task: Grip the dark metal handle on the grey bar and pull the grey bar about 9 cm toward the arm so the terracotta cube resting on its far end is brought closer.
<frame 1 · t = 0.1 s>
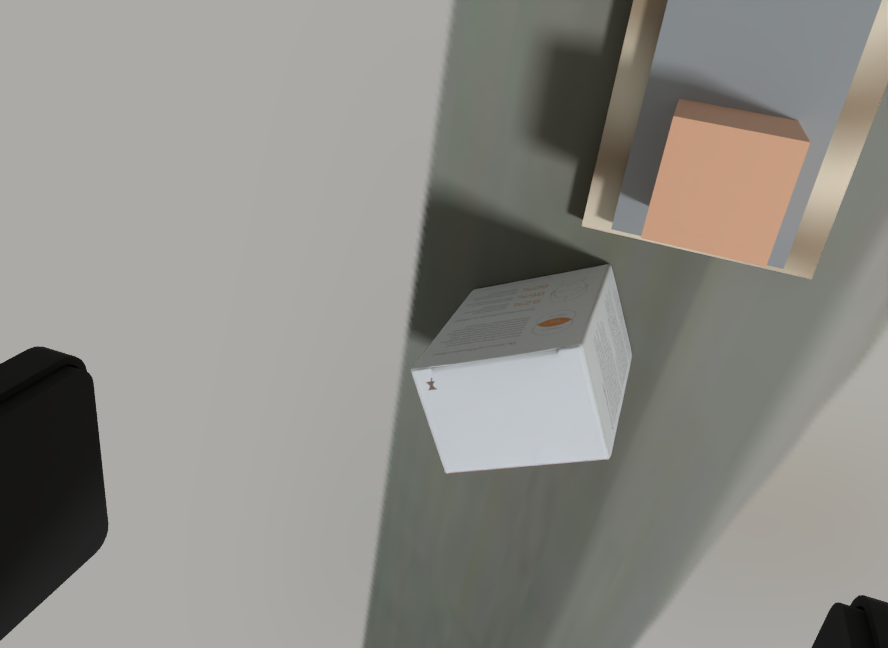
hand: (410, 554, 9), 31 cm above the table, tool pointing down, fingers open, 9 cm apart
small box: (553, 319, 42), on the table
cube: (720, 165, 34), point 2 cm above the table, touching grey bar
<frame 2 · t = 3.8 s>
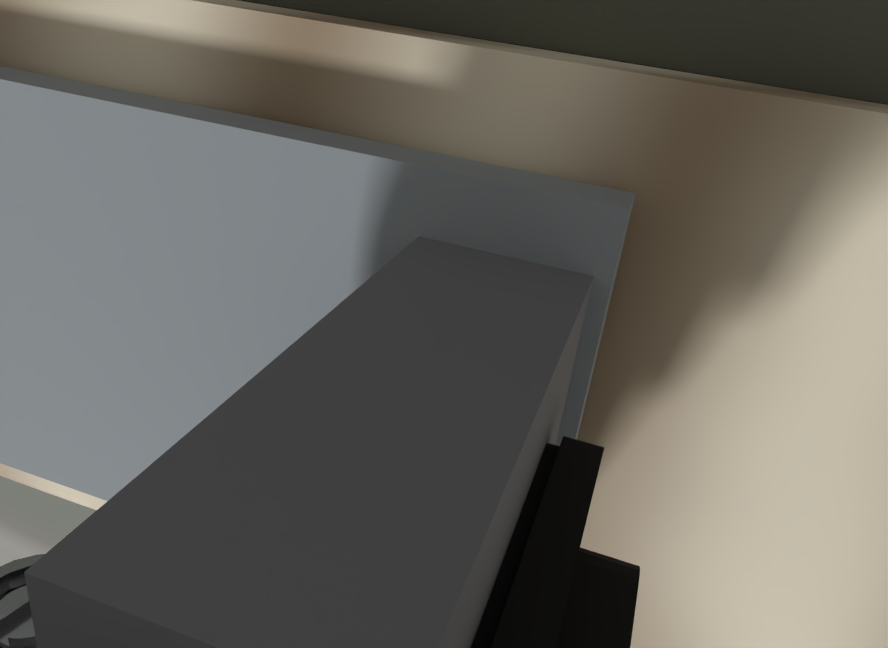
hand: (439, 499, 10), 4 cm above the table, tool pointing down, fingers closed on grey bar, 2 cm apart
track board: (279, 316, 14), on the table
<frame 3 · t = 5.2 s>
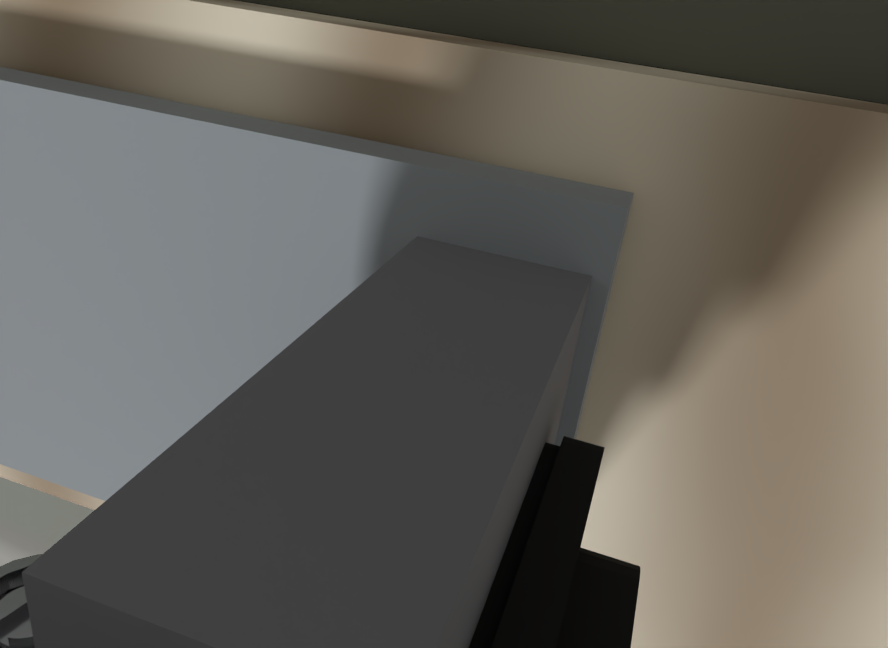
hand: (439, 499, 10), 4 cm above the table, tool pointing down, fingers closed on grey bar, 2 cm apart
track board: (90, 266, 15), on the table
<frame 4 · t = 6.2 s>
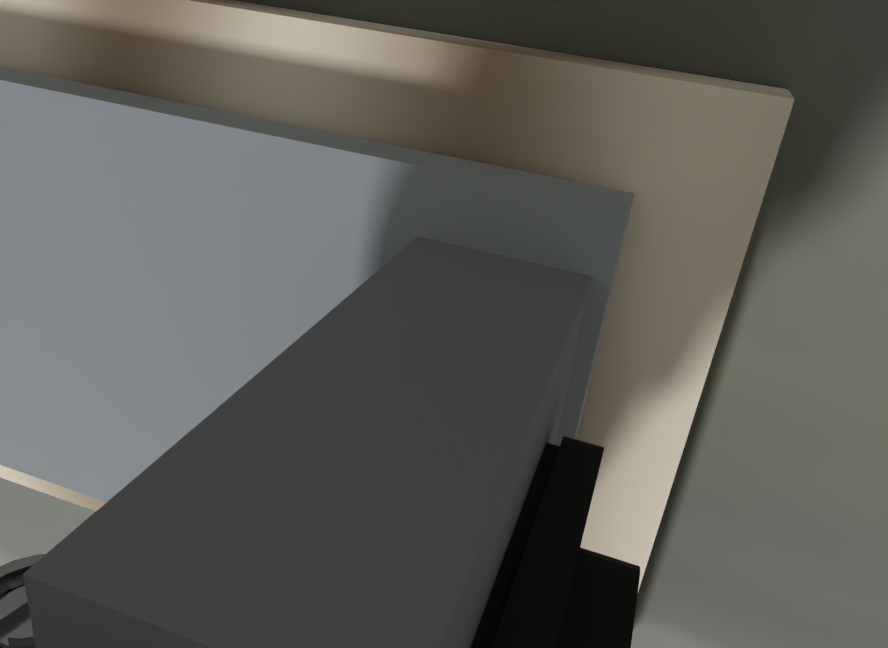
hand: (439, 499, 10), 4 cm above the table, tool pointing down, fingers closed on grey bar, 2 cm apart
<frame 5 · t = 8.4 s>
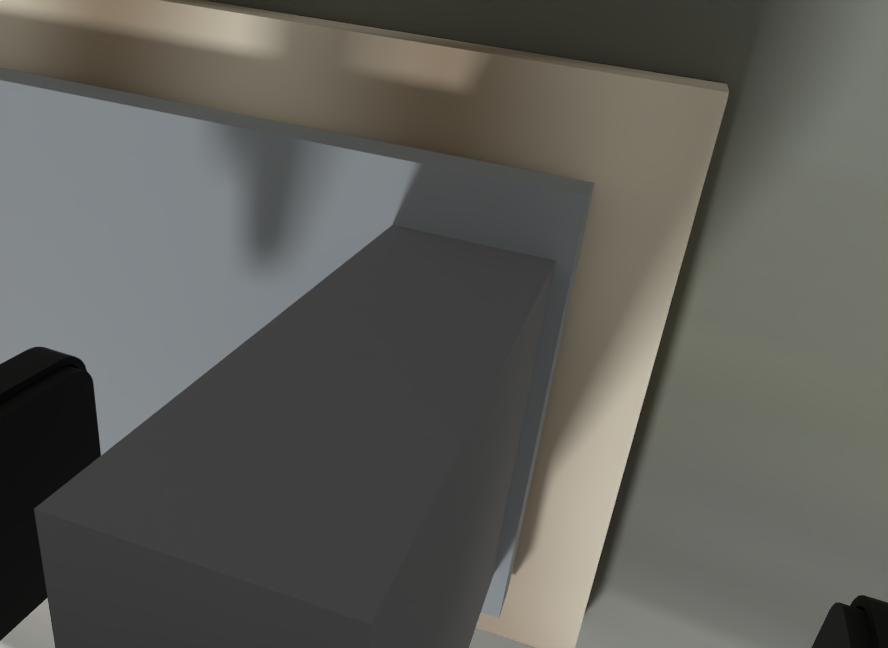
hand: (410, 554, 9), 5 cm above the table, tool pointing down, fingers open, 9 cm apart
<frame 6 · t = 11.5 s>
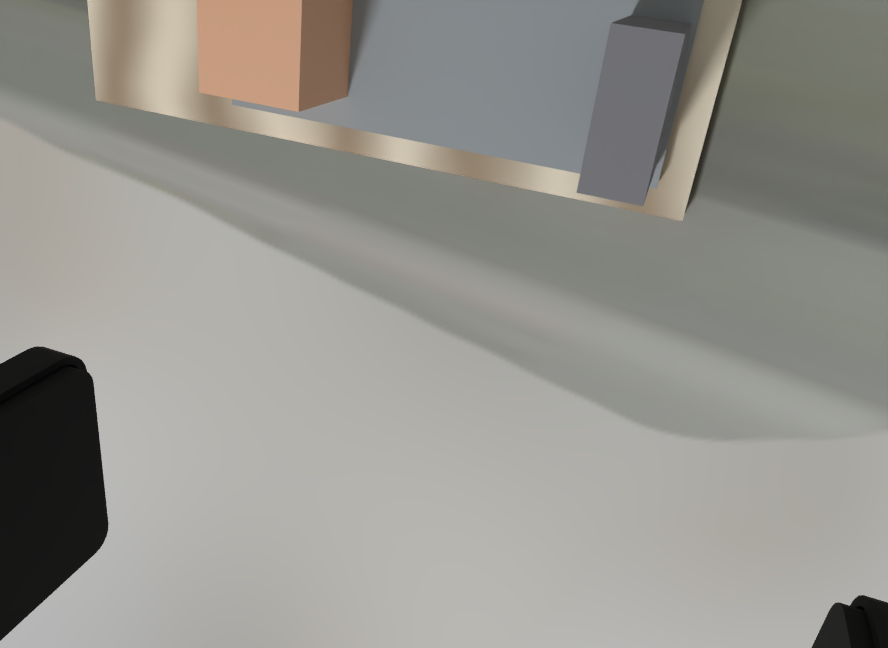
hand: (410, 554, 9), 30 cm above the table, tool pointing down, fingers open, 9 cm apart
cube: (303, 35, 37), point 2 cm above the table, touching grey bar
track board: (376, 42, 38), on the table
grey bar: (415, 64, 32), point 5 cm above the table, slide at 9.0 cm, touching cube
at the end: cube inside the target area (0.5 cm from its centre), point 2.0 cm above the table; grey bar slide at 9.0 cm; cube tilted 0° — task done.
